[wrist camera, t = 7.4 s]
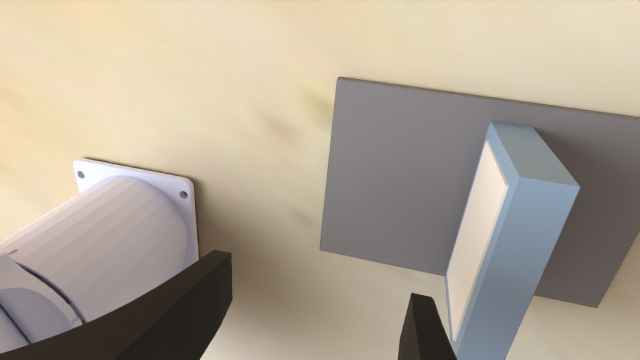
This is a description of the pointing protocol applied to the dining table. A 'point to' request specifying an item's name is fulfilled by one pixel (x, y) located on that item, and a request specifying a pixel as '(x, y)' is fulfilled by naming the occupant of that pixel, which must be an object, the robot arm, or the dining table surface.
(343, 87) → the mat
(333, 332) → the dining table surface
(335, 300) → the dining table surface
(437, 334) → the robot arm
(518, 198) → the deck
